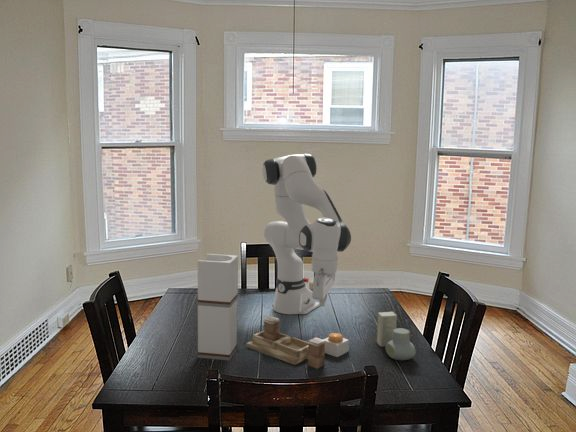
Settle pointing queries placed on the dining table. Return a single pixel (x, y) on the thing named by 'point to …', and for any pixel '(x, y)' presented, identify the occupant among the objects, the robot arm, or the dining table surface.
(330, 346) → the button housing
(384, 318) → the skincare box
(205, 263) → the tall open-top box
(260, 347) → the wooden compartment tray
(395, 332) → the air freshener
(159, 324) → the dining table surface
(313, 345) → the block
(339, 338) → the button
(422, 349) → the dining table surface
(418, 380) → the dining table surface
